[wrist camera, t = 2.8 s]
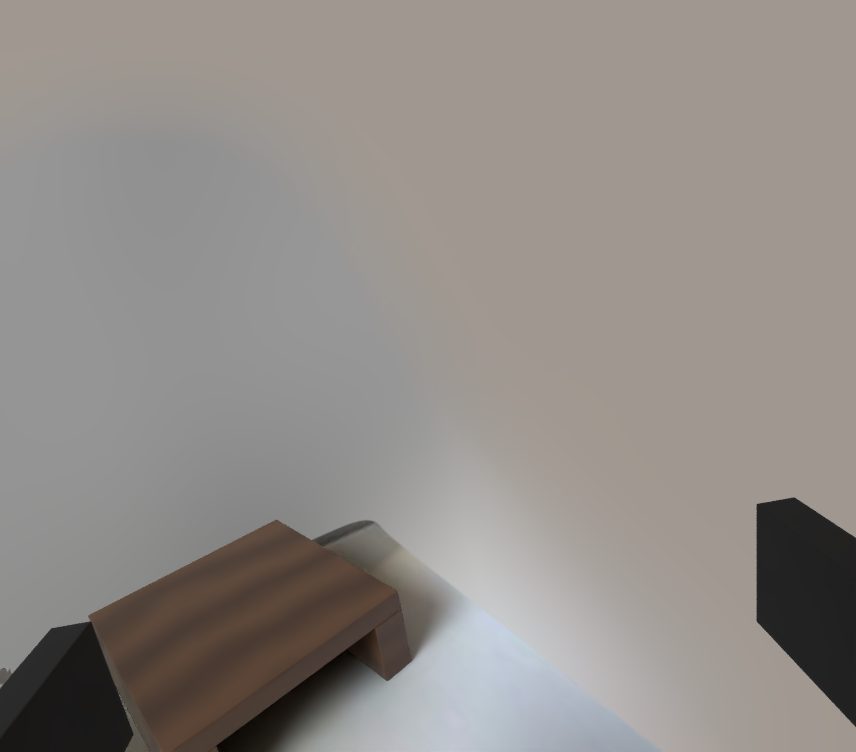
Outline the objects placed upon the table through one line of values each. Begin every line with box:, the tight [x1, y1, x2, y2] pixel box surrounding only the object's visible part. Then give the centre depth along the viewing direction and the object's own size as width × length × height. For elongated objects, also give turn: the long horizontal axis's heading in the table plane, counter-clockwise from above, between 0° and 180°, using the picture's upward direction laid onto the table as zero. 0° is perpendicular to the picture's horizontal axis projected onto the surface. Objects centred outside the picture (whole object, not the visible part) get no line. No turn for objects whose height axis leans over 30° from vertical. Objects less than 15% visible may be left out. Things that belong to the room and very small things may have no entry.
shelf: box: [88, 520, 412, 752], centre depth 41 cm, size 18×16×6 cm
